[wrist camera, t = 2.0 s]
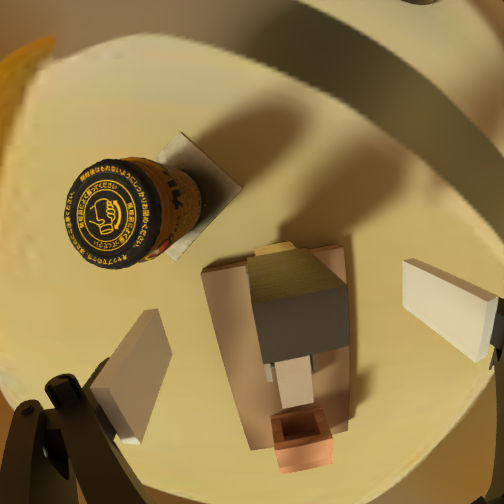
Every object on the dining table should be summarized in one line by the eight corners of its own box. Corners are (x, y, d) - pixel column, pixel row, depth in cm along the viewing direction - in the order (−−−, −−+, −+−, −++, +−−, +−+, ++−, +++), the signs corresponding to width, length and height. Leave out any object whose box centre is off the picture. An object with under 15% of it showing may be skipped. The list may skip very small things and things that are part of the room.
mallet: (297, 239, 22) (347, 284, 11) (313, 382, 25) (344, 468, 14) (245, 249, 22) (251, 304, 11) (272, 391, 25) (287, 481, 14)
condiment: (117, 206, 23) (31, 222, 11) (180, 132, 22) (128, 84, 10) (175, 261, 24) (125, 321, 13) (242, 188, 23) (244, 186, 11)
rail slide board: (337, 243, 24) (368, 262, 18) (344, 422, 29) (359, 459, 23) (202, 268, 24) (190, 295, 18) (250, 441, 29) (252, 482, 23)
